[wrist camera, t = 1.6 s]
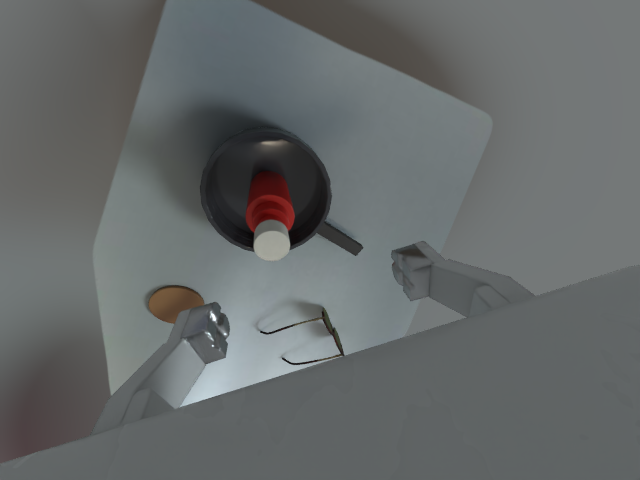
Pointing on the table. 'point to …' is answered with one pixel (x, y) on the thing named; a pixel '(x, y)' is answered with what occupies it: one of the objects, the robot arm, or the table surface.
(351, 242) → the pan handle
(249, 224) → the sauce bottle
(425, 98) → the table surface
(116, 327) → the table surface
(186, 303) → the coaster
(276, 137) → the pan
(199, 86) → the table surface
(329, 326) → the sunglasses
